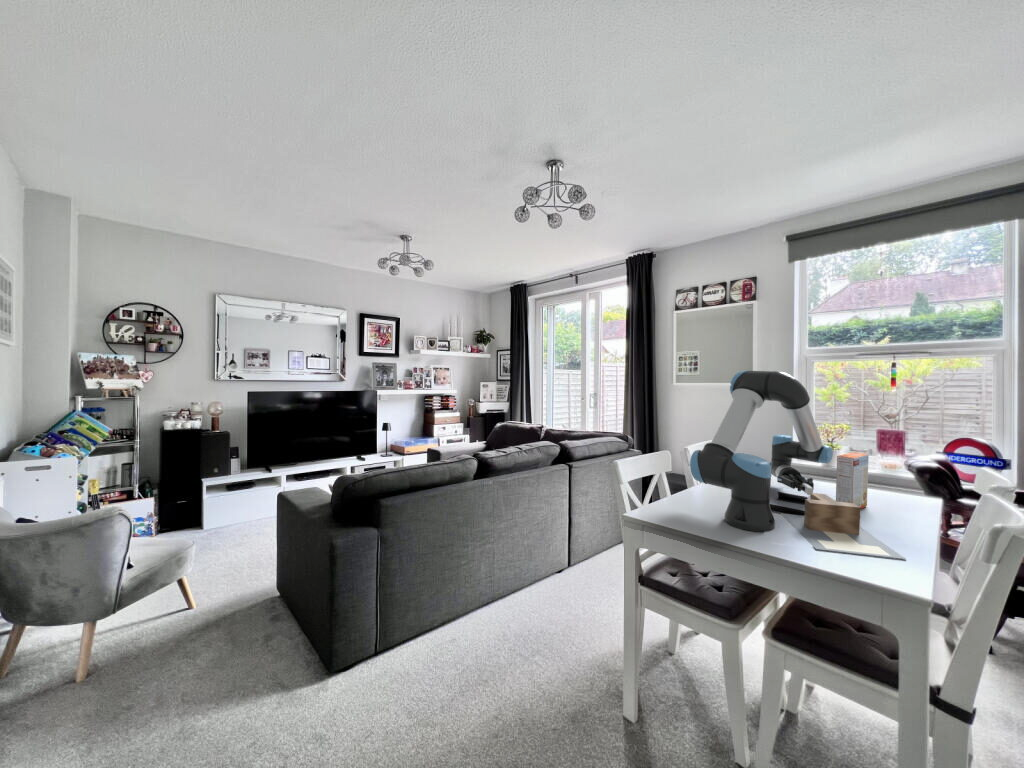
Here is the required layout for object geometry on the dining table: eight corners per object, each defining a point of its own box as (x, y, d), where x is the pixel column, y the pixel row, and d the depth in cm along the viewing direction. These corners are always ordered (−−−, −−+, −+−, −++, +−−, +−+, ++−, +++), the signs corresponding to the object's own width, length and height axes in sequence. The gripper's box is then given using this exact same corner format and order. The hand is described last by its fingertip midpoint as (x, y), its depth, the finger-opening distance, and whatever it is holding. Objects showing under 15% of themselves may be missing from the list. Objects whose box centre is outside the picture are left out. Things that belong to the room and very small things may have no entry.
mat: (816, 550, 126) (816, 548, 126) (780, 514, 157) (780, 513, 157) (906, 560, 120) (906, 559, 120) (850, 521, 151) (850, 520, 151)
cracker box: (849, 502, 172) (851, 451, 172) (867, 507, 167) (870, 454, 166) (833, 508, 165) (836, 454, 164) (852, 513, 160) (855, 457, 159)
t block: (809, 529, 141) (810, 503, 141) (794, 516, 154) (795, 491, 154) (859, 534, 138) (860, 507, 137) (839, 520, 151) (840, 495, 150)
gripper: (805, 485, 180) (830, 503, 157) (770, 483, 183) (790, 499, 161) (806, 468, 179) (831, 483, 157) (771, 465, 183) (791, 480, 160)
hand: (810, 491), depth 159 cm, fingers closed
